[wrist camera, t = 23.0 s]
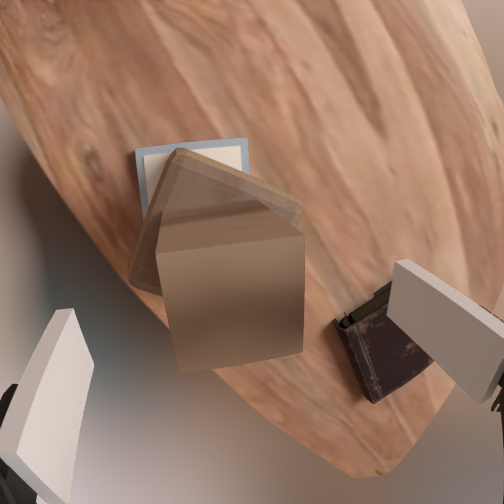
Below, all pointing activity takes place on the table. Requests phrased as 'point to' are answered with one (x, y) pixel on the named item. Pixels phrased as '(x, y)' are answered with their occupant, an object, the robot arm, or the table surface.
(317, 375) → the table surface
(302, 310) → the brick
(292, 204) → the block
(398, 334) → the diary
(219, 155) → the board
